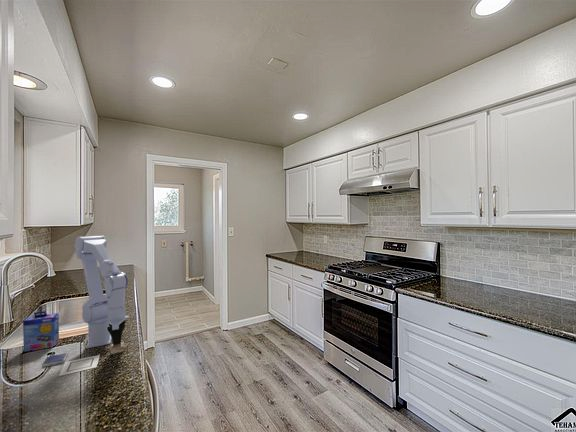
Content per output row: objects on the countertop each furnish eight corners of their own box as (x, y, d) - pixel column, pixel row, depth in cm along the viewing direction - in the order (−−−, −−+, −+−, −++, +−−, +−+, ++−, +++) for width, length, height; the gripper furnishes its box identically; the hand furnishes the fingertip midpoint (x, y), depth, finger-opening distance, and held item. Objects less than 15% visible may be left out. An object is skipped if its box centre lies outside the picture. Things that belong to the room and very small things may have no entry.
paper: (65, 362, 98) (65, 361, 98) (100, 355, 103) (99, 354, 103) (58, 376, 89) (58, 375, 89) (96, 367, 94) (96, 367, 94)
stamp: (111, 350, 106) (111, 326, 106) (123, 348, 108) (123, 324, 108) (110, 355, 103) (110, 329, 103) (123, 352, 105) (122, 327, 105)
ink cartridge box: (22, 352, 107) (21, 314, 107) (29, 346, 112) (28, 310, 112) (54, 347, 111) (54, 310, 111) (59, 341, 116) (59, 306, 116)
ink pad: (47, 359, 100) (47, 356, 100) (67, 355, 103) (67, 352, 103) (41, 367, 95) (41, 364, 95) (64, 362, 98) (64, 359, 98)
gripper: (128, 309, 101) (128, 347, 101) (129, 300, 114) (129, 333, 114) (104, 313, 98) (105, 352, 98) (108, 302, 111) (109, 337, 110)
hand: (117, 342), depth 105 cm, fingers closed on stamp, 3 cm apart
